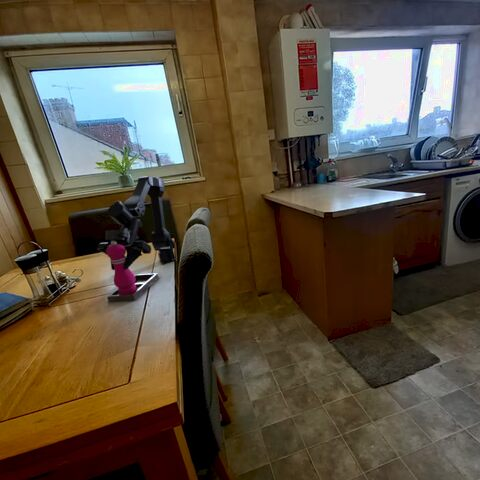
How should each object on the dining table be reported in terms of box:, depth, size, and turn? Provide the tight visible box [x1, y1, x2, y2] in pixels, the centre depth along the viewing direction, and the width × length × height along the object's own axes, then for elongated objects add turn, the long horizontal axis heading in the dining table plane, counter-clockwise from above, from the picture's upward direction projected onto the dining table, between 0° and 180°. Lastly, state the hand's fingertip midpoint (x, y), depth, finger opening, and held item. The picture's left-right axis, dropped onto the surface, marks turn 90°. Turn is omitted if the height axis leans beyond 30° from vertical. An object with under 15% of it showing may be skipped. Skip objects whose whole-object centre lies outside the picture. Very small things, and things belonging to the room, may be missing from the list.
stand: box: [106, 272, 160, 303], centre depth 108 cm, size 10×19×2 cm, turn 175°
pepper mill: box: [106, 240, 137, 295], centre depth 100 cm, size 7×7×20 cm
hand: (118, 269), depth 99 cm, fingers closed on pepper mill, 5 cm apart
